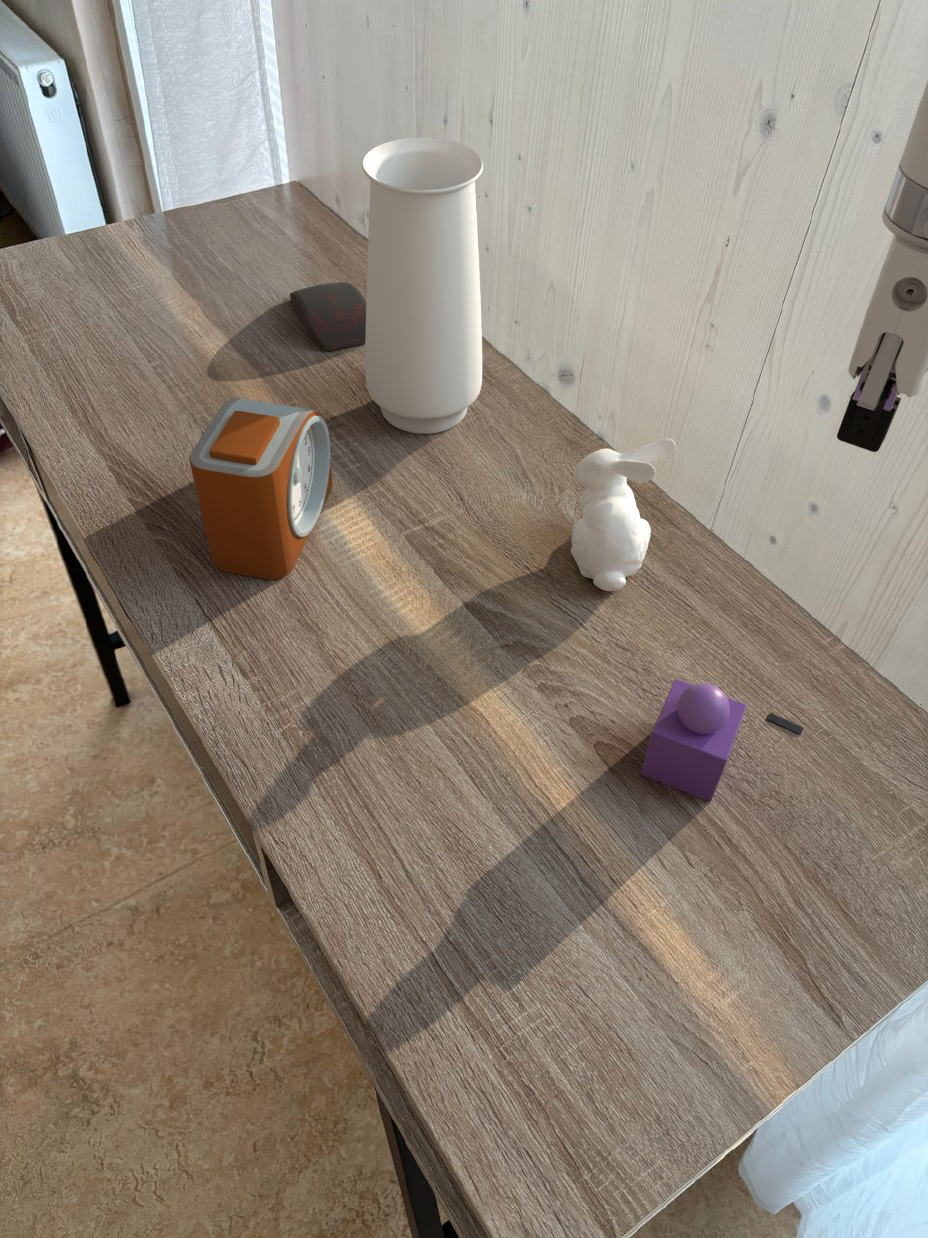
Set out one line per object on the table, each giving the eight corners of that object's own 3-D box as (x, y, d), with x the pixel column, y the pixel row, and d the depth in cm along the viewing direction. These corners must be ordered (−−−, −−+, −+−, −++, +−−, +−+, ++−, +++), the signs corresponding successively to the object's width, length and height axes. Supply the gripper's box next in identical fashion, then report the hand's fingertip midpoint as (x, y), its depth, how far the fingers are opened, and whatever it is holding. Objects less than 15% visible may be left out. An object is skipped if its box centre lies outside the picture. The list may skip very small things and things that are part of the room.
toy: (731, 748, 85) (757, 679, 78) (710, 802, 82) (736, 736, 75) (663, 721, 87) (682, 652, 80) (640, 774, 83) (658, 706, 76)
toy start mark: (803, 728, 87) (803, 727, 87) (800, 734, 86) (800, 734, 86) (770, 713, 88) (770, 712, 88) (767, 719, 87) (767, 719, 87)
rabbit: (563, 516, 104) (575, 421, 95) (654, 518, 104) (674, 423, 95) (571, 602, 96) (585, 507, 87) (670, 604, 96) (694, 509, 87)
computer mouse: (315, 355, 123) (312, 325, 120) (283, 299, 131) (280, 270, 128) (378, 341, 125) (377, 312, 122) (343, 287, 133) (341, 259, 130)
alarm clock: (289, 584, 97) (272, 474, 87) (205, 569, 98) (179, 458, 88) (336, 486, 107) (326, 377, 97) (259, 473, 108) (241, 364, 98)
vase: (344, 407, 116) (324, 161, 95) (424, 362, 122) (423, 122, 102) (423, 458, 110) (421, 208, 89) (504, 408, 116) (519, 164, 96)
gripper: (987, 271, 57) (880, 514, 71) (1037, 173, 66) (934, 407, 79) (856, 235, 60) (778, 477, 73) (921, 146, 68) (840, 376, 82)
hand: (859, 440), depth 76 cm, fingers closed
